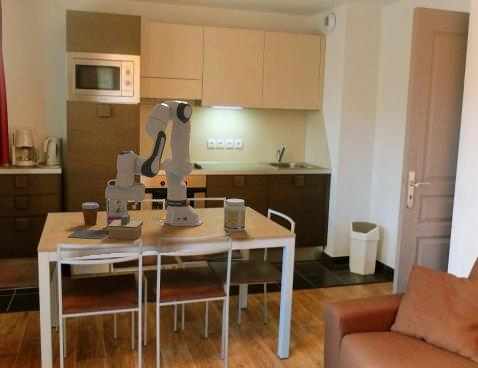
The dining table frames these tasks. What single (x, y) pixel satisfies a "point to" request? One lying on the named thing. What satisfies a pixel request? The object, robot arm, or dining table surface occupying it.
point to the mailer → (125, 234)
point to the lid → (125, 224)
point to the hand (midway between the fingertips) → (124, 208)
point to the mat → (89, 234)
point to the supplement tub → (234, 215)
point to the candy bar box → (116, 210)
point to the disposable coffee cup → (90, 213)
